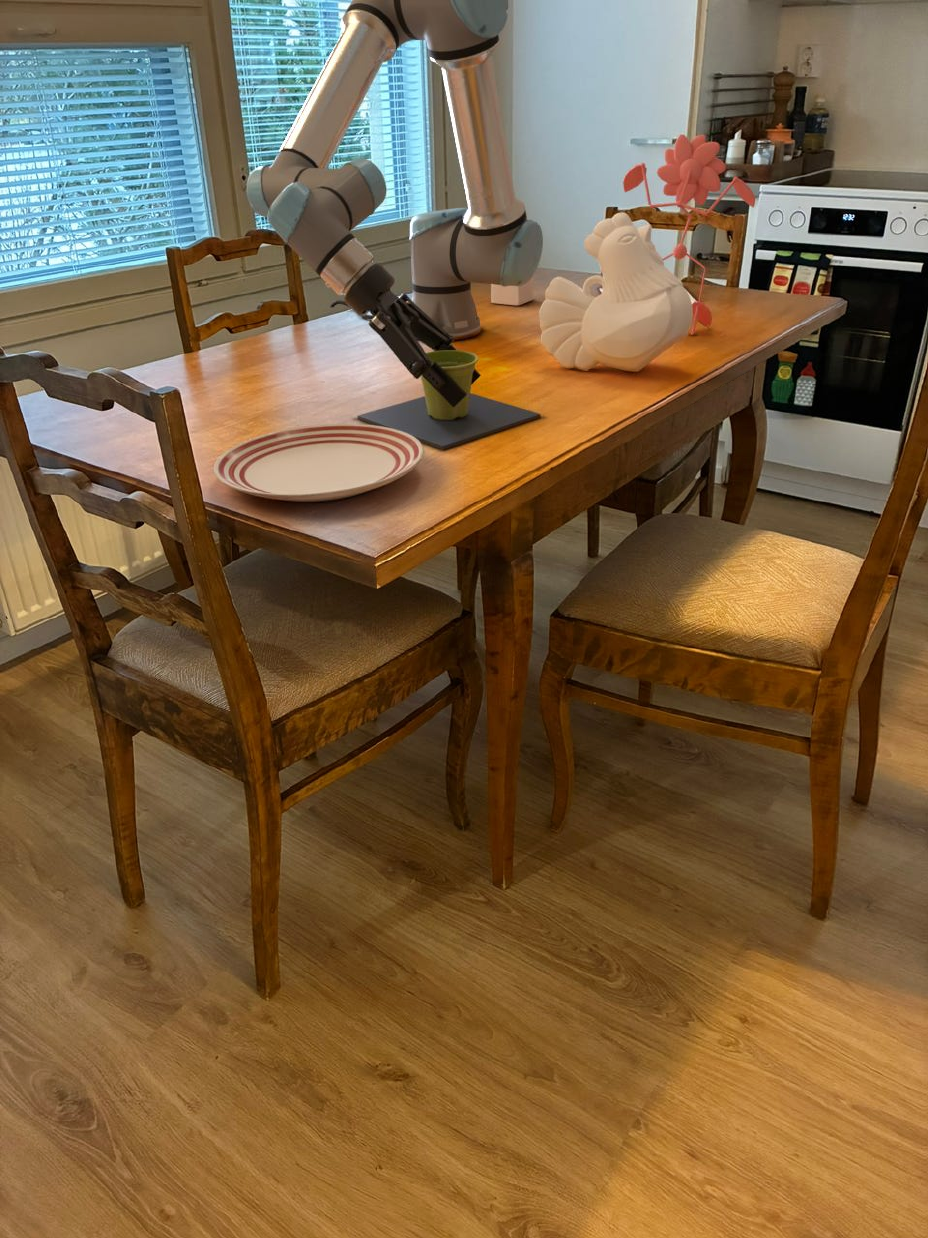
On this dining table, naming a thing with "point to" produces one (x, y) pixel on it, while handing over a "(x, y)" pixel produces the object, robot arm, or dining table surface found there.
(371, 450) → the dinner plate
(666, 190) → the figurine
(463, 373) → the plant pot
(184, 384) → the dining table surface
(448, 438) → the placemat
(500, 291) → the milk carton
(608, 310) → the decorative rooster
